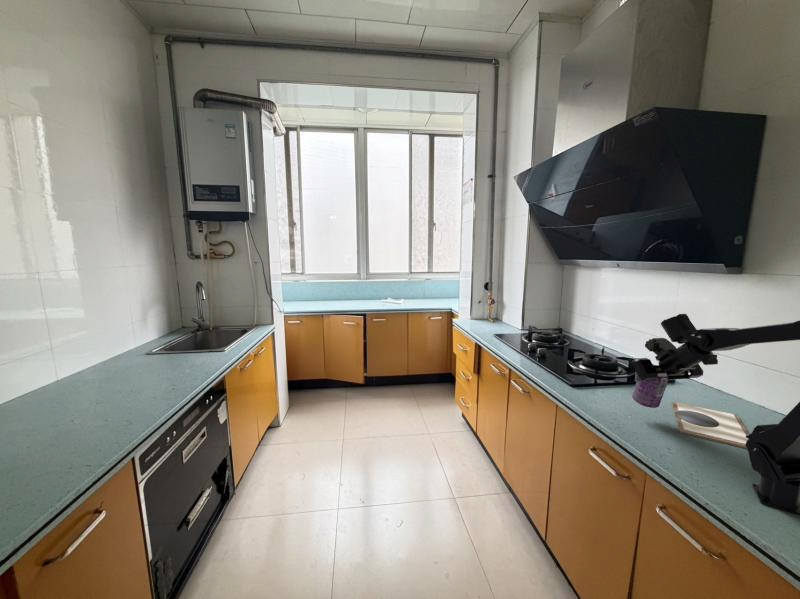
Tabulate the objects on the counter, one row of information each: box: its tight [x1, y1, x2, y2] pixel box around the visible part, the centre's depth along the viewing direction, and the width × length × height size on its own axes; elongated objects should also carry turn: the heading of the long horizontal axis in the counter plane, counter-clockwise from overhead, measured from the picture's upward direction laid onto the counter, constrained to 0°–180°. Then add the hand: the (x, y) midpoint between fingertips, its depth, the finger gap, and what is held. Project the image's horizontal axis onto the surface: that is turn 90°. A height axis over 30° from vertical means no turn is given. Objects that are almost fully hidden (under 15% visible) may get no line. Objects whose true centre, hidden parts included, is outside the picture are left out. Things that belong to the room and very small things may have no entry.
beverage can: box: [631, 374, 669, 409], centre depth 101 cm, size 7×7×12 cm
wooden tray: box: [671, 401, 750, 450], centre depth 100 cm, size 22×16×1 cm
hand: (648, 379), depth 102 cm, fingers closed on beverage can, 7 cm apart
